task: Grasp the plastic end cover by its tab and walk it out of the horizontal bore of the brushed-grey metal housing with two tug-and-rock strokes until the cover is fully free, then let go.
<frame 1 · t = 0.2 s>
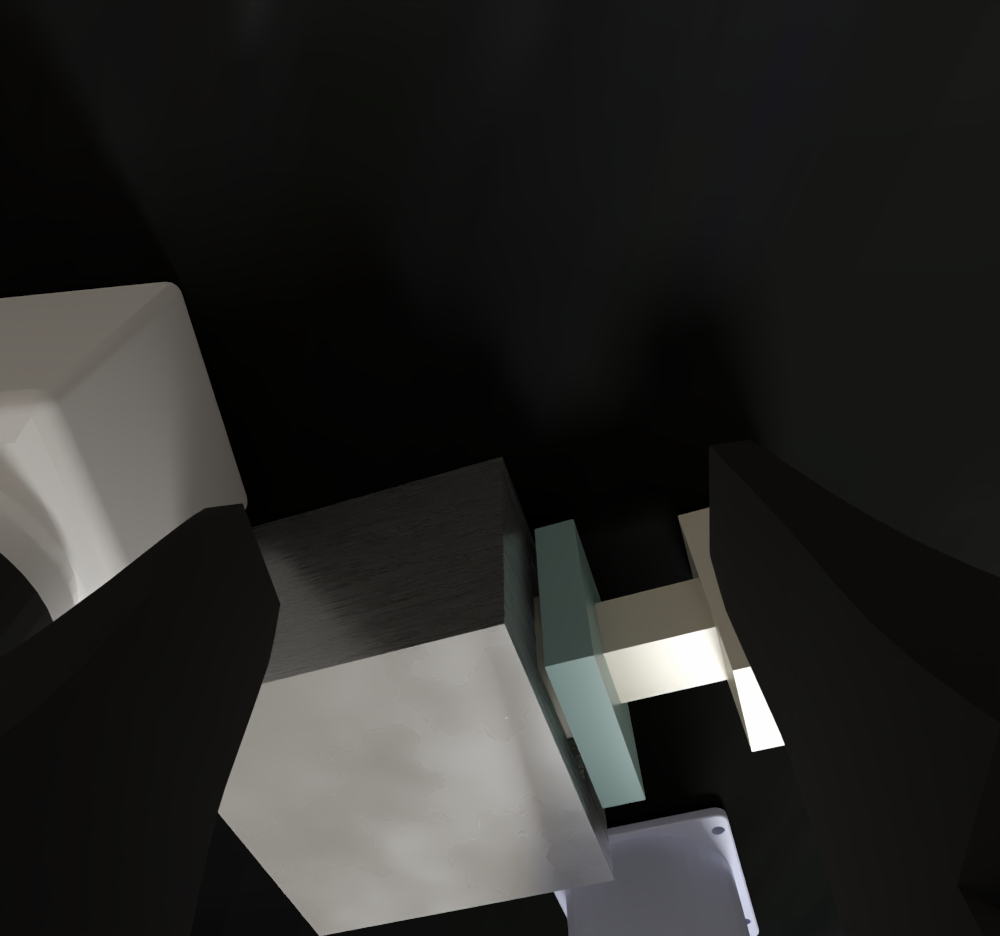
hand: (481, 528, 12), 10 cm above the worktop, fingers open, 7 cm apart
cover: (581, 653, 22), point 4 cm above the worktop, slide at 0.0 cm
housing: (420, 614, 26), on the worktop
medicine bottle: (101, 407, 22), on the worktop
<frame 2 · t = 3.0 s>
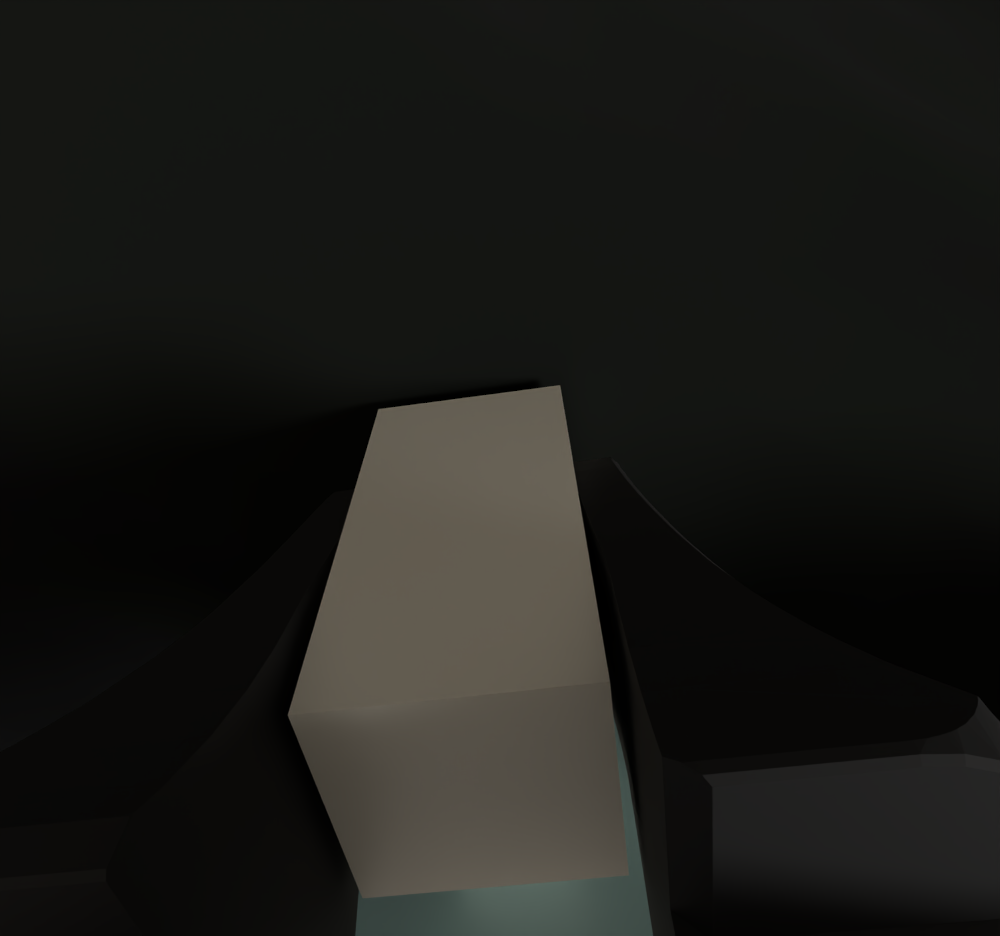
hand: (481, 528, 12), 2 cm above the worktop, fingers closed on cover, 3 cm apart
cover: (526, 830, 13), point 4 cm above the worktop, slide at 0.0 cm, touching gripper
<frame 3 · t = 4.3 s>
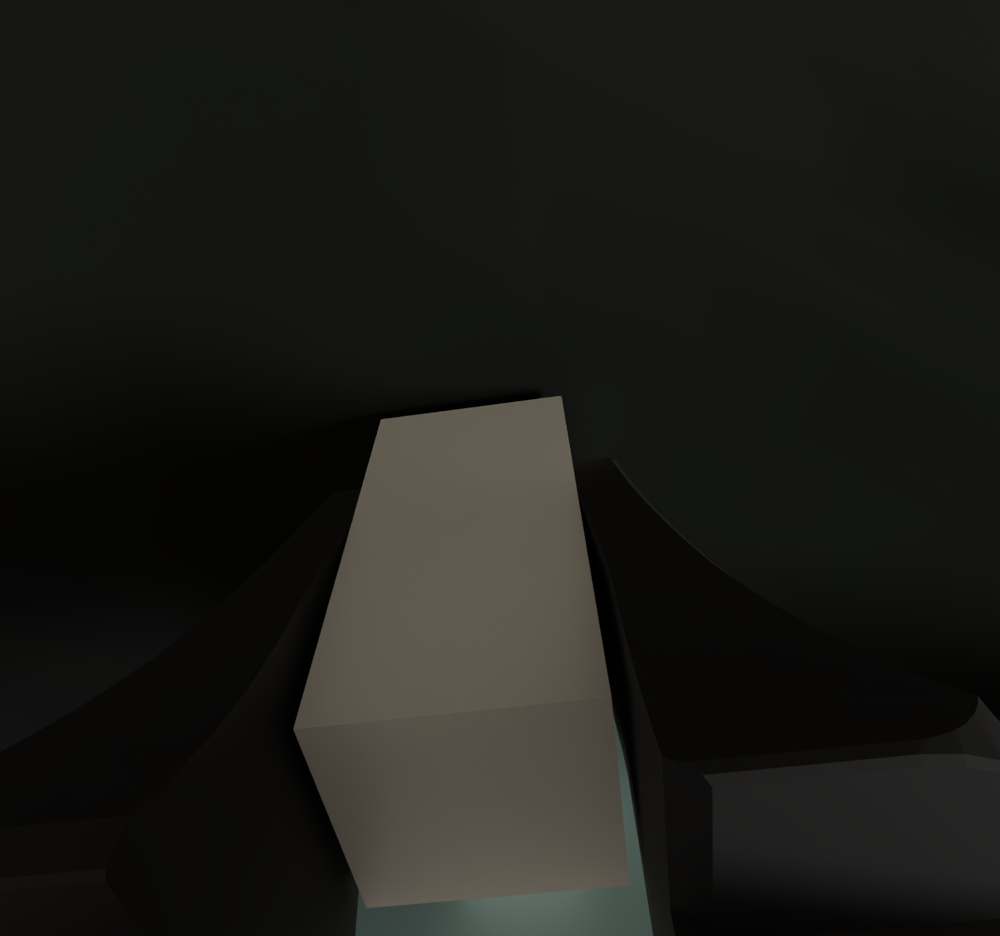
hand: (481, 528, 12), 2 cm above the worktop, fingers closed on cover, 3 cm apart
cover: (527, 837, 13), point 3 cm above the worktop, slide at 2.8 cm, touching gripper
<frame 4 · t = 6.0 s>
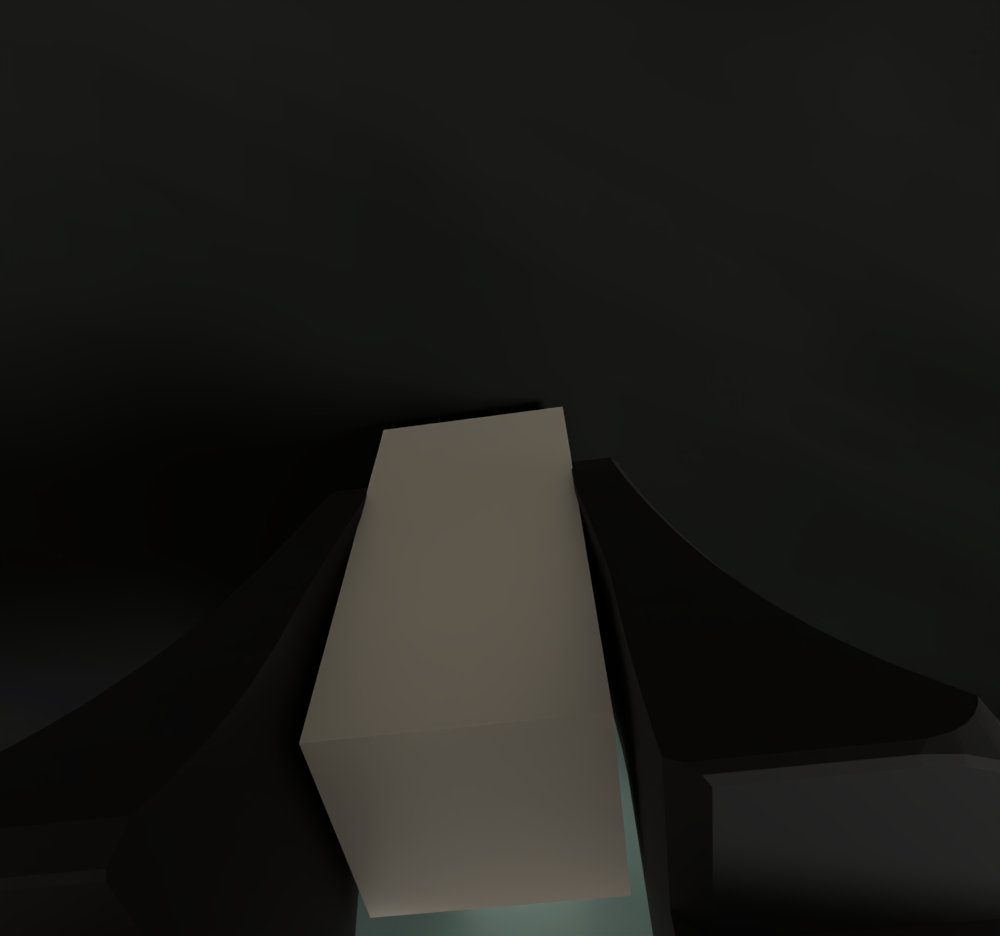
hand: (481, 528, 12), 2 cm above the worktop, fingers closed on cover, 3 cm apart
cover: (529, 844, 13), point 3 cm above the worktop, slide at 5.6 cm, touching gripper
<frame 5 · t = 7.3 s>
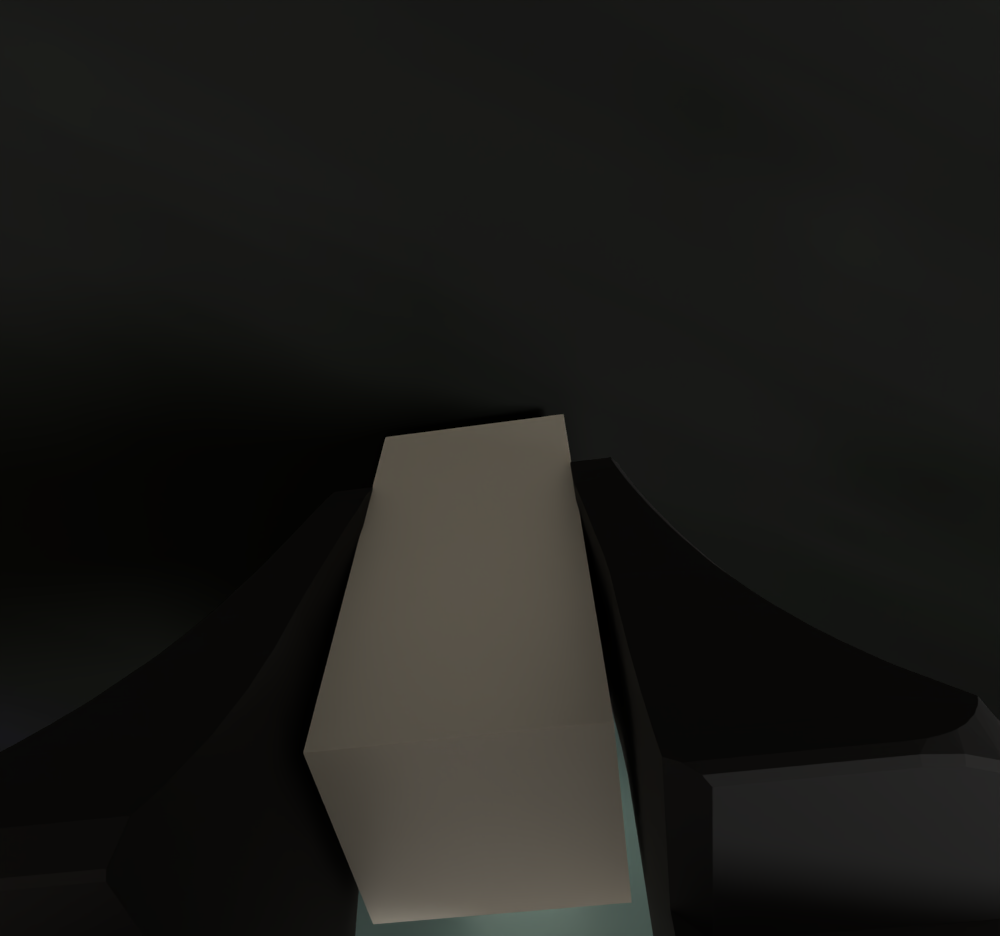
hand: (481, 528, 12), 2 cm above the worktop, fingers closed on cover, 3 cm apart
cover: (530, 848, 14), point 4 cm above the worktop, slide at 7.5 cm, touching gripper
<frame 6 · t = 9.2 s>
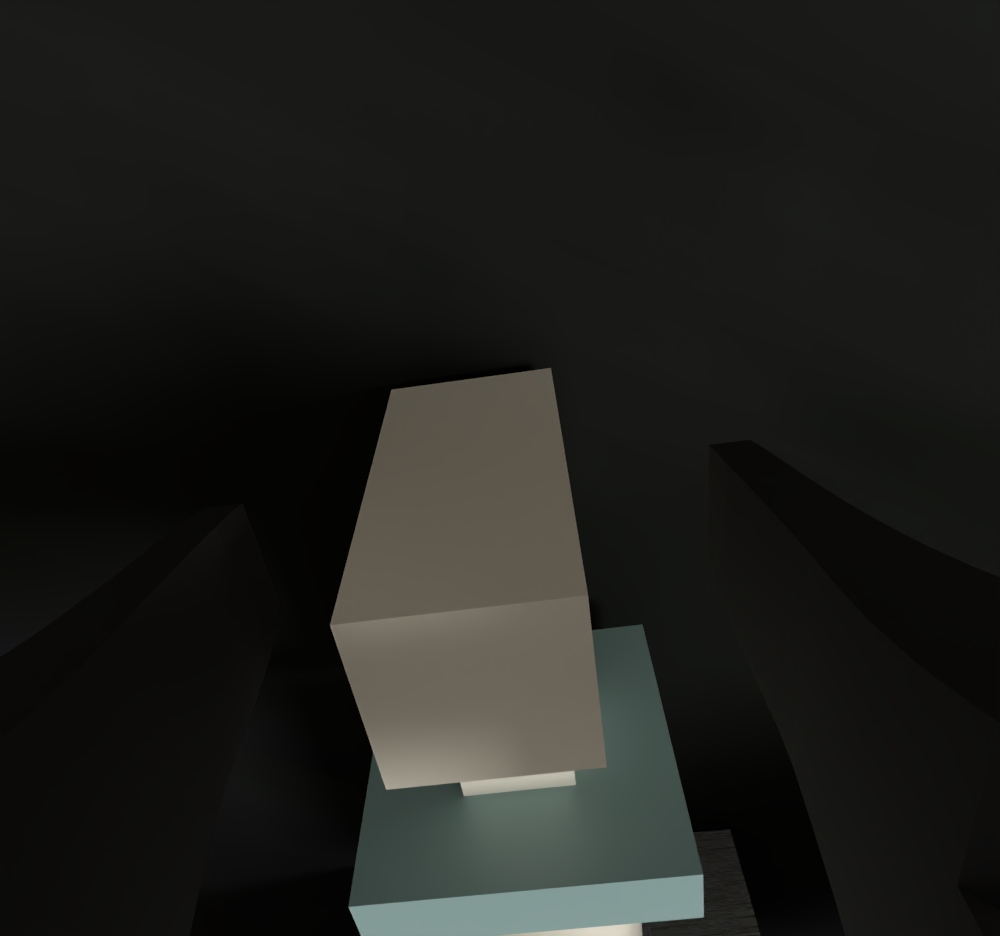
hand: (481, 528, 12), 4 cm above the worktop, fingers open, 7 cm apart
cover: (522, 761, 15), point 3 cm above the worktop, slide at 7.5 cm
housing: (569, 930, 25), on the worktop
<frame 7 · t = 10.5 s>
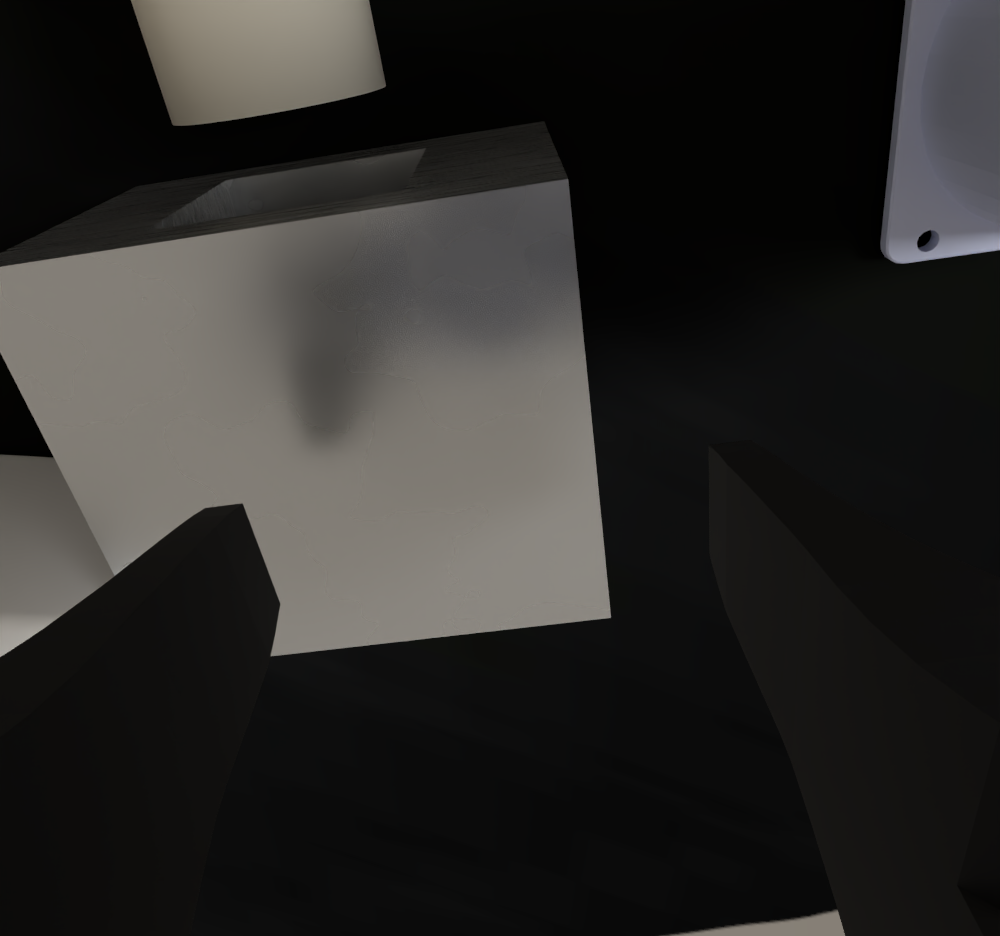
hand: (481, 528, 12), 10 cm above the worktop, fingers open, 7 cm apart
housing: (378, 331, 21), on the worktop
medicine bottle: (116, 548, 25), on the worktop
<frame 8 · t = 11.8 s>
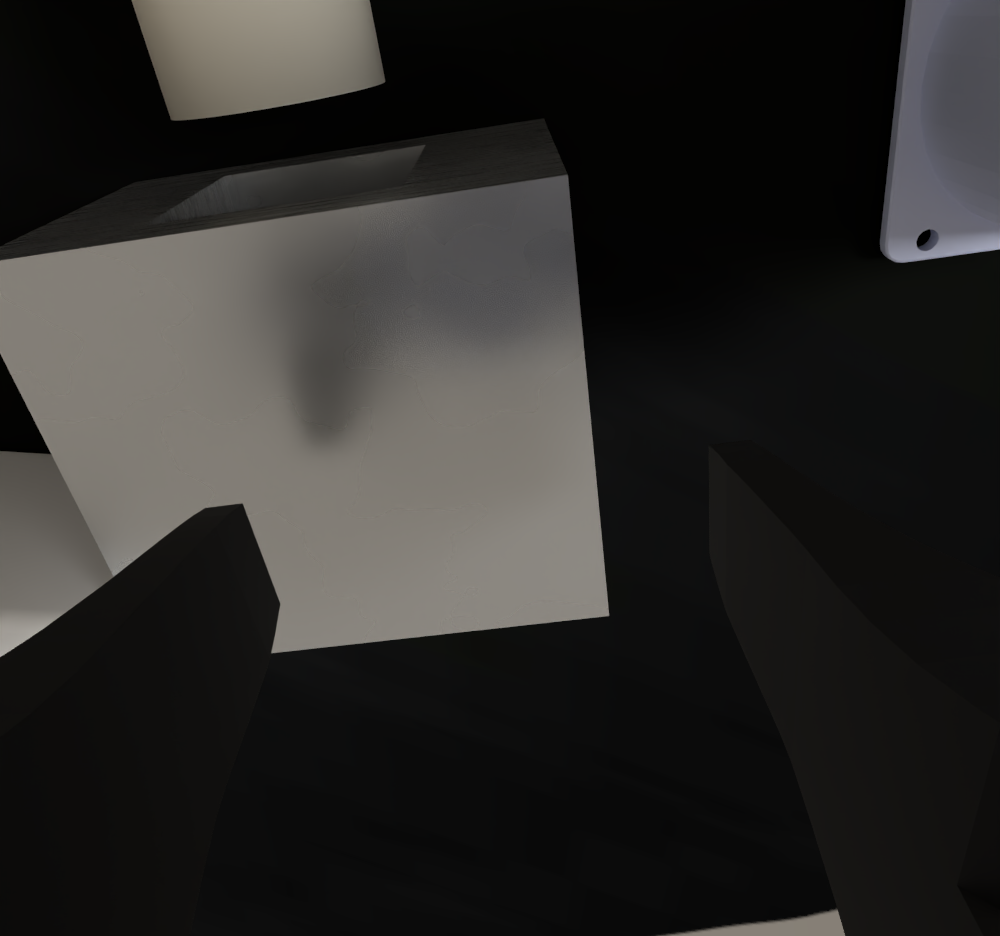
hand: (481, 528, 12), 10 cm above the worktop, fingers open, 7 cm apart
housing: (377, 328, 21), on the worktop
medicine bottle: (113, 545, 25), on the worktop
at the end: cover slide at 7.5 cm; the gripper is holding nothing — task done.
